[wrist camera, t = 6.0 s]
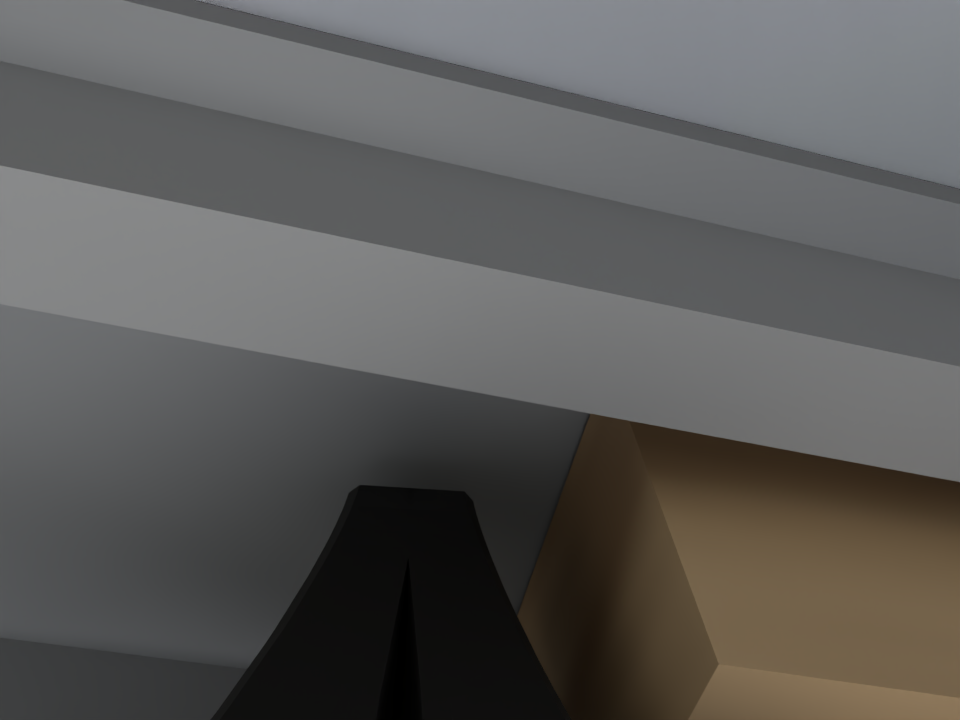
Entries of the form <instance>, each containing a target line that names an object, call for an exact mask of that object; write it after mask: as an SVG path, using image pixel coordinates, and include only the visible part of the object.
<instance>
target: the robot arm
mask: <svg viewBox="0 0 960 720" xmlns="http://www.w3.org/2000/svg"><path fill="white" fill-rule="evenodd" d="M211 720H571V718H570V716H569V714H568V713H567V711H566V709H565V707H564V706H563V704H562V702H561V700H560V698H559V697H558V695H557V693H556V691H555V690H554V688H553V686H552V684H551V682H550V680H549V678H548V677H547V675H546V673H545V671H544V669H543V667H542V665H541V663H540V661H539V660H538V658H537V656H536V654H535V651H534V649H533V647H532V645H531V643H530V641H529V639H528V637H527V635H526V633H525V631H524V629H523V627H522V625H521V623H520V621H519V619H518V617H517V615H516V613H515V611H514V609H513V606H512V604H511V602H510V600H509V598H508V595H507V593H506V591H505V589H504V586H503V584H502V582H501V579H500V577H499V574H498V572H497V570H496V567H495V565H494V562H493V560H492V557H491V555H490V552H489V550H488V547H487V544H486V542H485V539H484V536H483V533H482V530H481V527H480V524H479V521H478V517H477V514H476V511H475V507H474V502H473V500H472V499H471V498H470V497H469V496H468V495H467V494H466V492H465V491H451V490H435V489H419V488H403V487H387V486H371V485H359V486H357V487H356V488H355V489H353V490H352V491H350V492H349V493H348V496H347V499H346V502H345V505H344V507H343V510H342V512H341V514H340V516H339V518H338V521H337V523H336V525H335V527H334V529H333V531H332V533H331V535H330V537H329V539H328V541H327V543H326V545H325V547H324V548H323V550H322V552H321V554H320V556H319V557H318V559H317V561H316V563H315V565H314V566H313V568H312V570H311V572H310V574H309V575H308V577H307V579H306V580H305V582H304V583H303V585H302V587H301V588H300V590H299V591H298V593H297V595H296V596H295V598H294V599H293V601H292V603H291V604H290V606H289V607H288V609H287V611H286V612H285V614H284V615H283V617H282V619H281V620H280V622H279V623H278V625H277V627H276V628H275V630H274V631H273V633H272V634H271V636H270V637H269V639H268V640H267V642H266V643H265V645H264V646H263V647H262V649H261V650H260V652H259V653H258V654H257V656H256V657H255V659H254V660H253V661H252V663H251V664H250V666H249V667H248V668H247V670H246V671H245V673H244V674H243V675H242V677H241V678H240V680H239V681H238V682H237V684H236V685H235V687H234V688H233V689H232V691H231V692H230V694H229V695H228V696H227V698H226V699H225V701H224V702H223V703H222V705H221V706H220V708H219V709H218V710H217V712H216V713H215V714H214V716H213V717H212V718H211Z"/></svg>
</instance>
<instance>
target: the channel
mask: <svg viewBox="0 0 960 720" xmlns="http://www.w3.org/2000/svg"><path fill="white" fill-rule="evenodd" d="M590 414H596V415H601V416H606V417H612V418H617V419H623V420H628V421H633V422H639V423H644V424H650V425H655V426H660V427H666V428H671V429H676V430H682V431H687V432H693V433H698V434H703V435H709V436H714V437H720V438H725V439H730V440H736V441H741V442H747V443H752V444H757V445H763V446H768V447H774V448H779V449H784V450H790V451H795V452H800V453H806V454H811V455H817V456H822V457H827V458H833V459H838V460H844V461H849V462H854V463H860V464H865V465H871V466H876V467H881V468H887V469H892V470H897V471H903V472H908V473H914V474H919V475H924V476H930V477H935V478H941V479H946V480H951V481H957V482H960V189H957V188H953V187H949V186H945V185H941V184H937V183H933V182H929V181H924V180H920V179H916V178H912V177H908V176H904V175H900V174H896V173H892V172H888V171H884V170H880V169H876V168H872V167H868V166H864V165H860V164H856V163H852V162H847V161H843V160H839V159H835V158H831V157H827V156H823V155H819V154H815V153H811V152H807V151H803V150H799V149H795V148H791V147H787V146H783V145H779V144H775V143H771V142H766V141H762V140H758V139H754V138H750V137H746V136H742V135H738V134H734V133H730V132H726V131H722V130H718V129H714V128H710V127H706V126H702V125H698V124H694V123H690V122H685V121H681V120H677V119H673V118H669V117H665V116H661V115H657V114H653V113H649V112H645V111H641V110H637V109H633V108H629V107H625V106H621V105H617V104H613V103H609V102H604V101H600V100H596V99H592V98H588V97H584V96H580V95H576V94H572V93H568V92H564V91H560V90H556V89H552V88H548V87H544V86H540V85H536V84H532V83H528V82H523V81H519V80H515V79H511V78H507V77H503V76H499V75H495V74H491V73H487V72H483V71H479V70H475V69H471V68H467V67H463V66H459V65H455V64H451V63H446V62H442V61H438V60H434V59H430V58H426V57H422V56H418V55H414V54H410V53H406V52H402V51H398V50H394V49H390V48H386V47H382V46H378V45H374V44H370V43H365V42H361V41H357V40H353V39H349V38H345V37H341V36H337V35H333V34H329V33H325V32H321V31H317V30H313V29H309V28H305V27H301V26H297V25H293V24H289V23H284V22H280V21H276V20H272V19H268V18H264V17H260V16H256V15H252V14H248V13H244V12H240V11H236V10H232V9H228V8H224V7H220V6H216V5H212V4H208V3H203V2H199V1H195V0H0V720H211V718H212V717H213V716H214V714H215V713H216V712H217V710H218V709H219V708H220V706H221V705H222V703H223V702H224V701H225V699H226V698H227V696H228V695H229V694H230V692H231V691H232V689H233V688H234V687H235V685H236V684H237V682H238V681H239V680H240V678H241V677H242V675H243V674H244V673H245V671H246V670H247V668H248V667H249V666H250V664H251V663H252V661H253V660H254V659H255V657H256V656H257V654H258V653H259V652H260V650H261V649H262V647H263V646H264V645H265V643H266V642H267V640H268V639H269V637H270V636H271V634H272V633H273V631H274V630H275V628H276V627H277V625H278V623H279V622H280V620H281V619H282V617H283V615H284V614H285V612H286V611H287V609H288V607H289V606H290V604H291V603H292V601H293V599H294V598H295V596H296V595H297V593H298V591H299V590H300V588H301V587H302V585H303V583H304V582H305V580H306V579H307V577H308V575H309V574H310V572H311V570H312V568H313V566H314V565H315V563H316V561H317V559H318V557H319V556H320V554H321V552H322V550H323V548H324V547H325V545H326V543H327V541H328V539H329V537H330V535H331V533H332V531H333V529H334V527H335V525H336V523H337V521H338V518H339V516H340V514H341V512H342V510H343V507H344V505H345V502H346V499H347V496H348V493H349V492H350V491H352V490H353V489H355V488H356V487H357V486H359V485H371V486H387V487H403V488H419V489H435V490H451V491H465V492H466V494H467V495H468V496H469V497H470V498H471V499H472V500H473V502H474V507H475V511H476V514H477V517H478V521H479V524H480V527H481V530H482V533H483V536H484V539H485V542H486V544H487V547H488V550H489V552H490V555H491V557H492V560H493V562H494V565H495V567H496V570H497V572H498V574H499V577H500V579H501V582H502V584H503V586H504V589H505V591H506V593H507V595H508V598H509V600H510V602H511V604H512V606H513V609H514V611H515V613H516V615H518V612H519V609H520V607H521V604H522V601H523V598H524V595H525V593H526V590H527V587H528V584H529V582H530V579H531V576H532V573H533V571H534V568H535V565H536V562H537V560H538V557H539V554H540V551H541V549H542V546H543V543H544V540H545V538H546V535H547V532H548V529H549V527H550V524H551V521H552V518H553V516H554V513H555V510H556V507H557V505H558V502H559V499H560V496H561V493H562V491H563V488H564V485H565V482H566V480H567V477H568V474H569V471H570V469H571V466H572V463H573V460H574V458H575V455H576V452H577V449H578V447H579V444H580V441H581V438H582V436H583V433H584V430H585V427H586V425H587V422H588V419H589V416H590Z"/></svg>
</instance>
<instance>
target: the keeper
mask: <svg viewBox="0 0 960 720" xmlns="http://www.w3.org/2000/svg"><path fill="white" fill-rule="evenodd" d="M517 617H518V619H519V621H520V623H521V625H522V627H523V629H524V631H525V633H526V635H527V637H528V639H529V641H530V643H531V645H532V647H533V649H534V651H535V654H536V656H537V658H538V660H539V661H540V663H541V665H542V667H543V669H544V671H545V673H546V675H547V677H548V678H549V680H550V682H551V684H552V686H553V688H554V690H555V691H556V693H557V695H558V697H559V698H560V700H561V702H562V704H563V706H564V707H565V709H566V711H567V713H568V714H569V716H570V718H571V720H960V482H957V481H951V480H946V479H941V478H935V477H930V476H924V475H919V474H914V473H908V472H903V471H897V470H892V469H887V468H881V467H876V466H871V465H865V464H860V463H854V462H849V461H844V460H838V459H833V458H827V457H822V456H817V455H811V454H806V453H800V452H795V451H790V450H784V449H779V448H774V447H768V446H763V445H757V444H752V443H747V442H741V441H736V440H730V439H725V438H720V437H714V436H709V435H703V434H698V433H693V432H687V431H682V430H676V429H671V428H666V427H660V426H655V425H650V424H644V423H639V422H633V421H628V420H623V419H617V418H612V417H606V416H601V415H596V414H590V416H589V419H588V422H587V425H586V427H585V430H584V433H583V436H582V438H581V441H580V444H579V447H578V449H577V452H576V455H575V458H574V460H573V463H572V466H571V469H570V471H569V474H568V477H567V480H566V482H565V485H564V488H563V491H562V493H561V496H560V499H559V502H558V505H557V507H556V510H555V513H554V516H553V518H552V521H551V524H550V527H549V529H548V532H547V535H546V538H545V540H544V543H543V546H542V549H541V551H540V554H539V557H538V560H537V562H536V565H535V568H534V571H533V573H532V576H531V579H530V582H529V584H528V587H527V590H526V593H525V595H524V598H523V601H522V604H521V607H520V609H519V612H518V615H517Z"/></svg>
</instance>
